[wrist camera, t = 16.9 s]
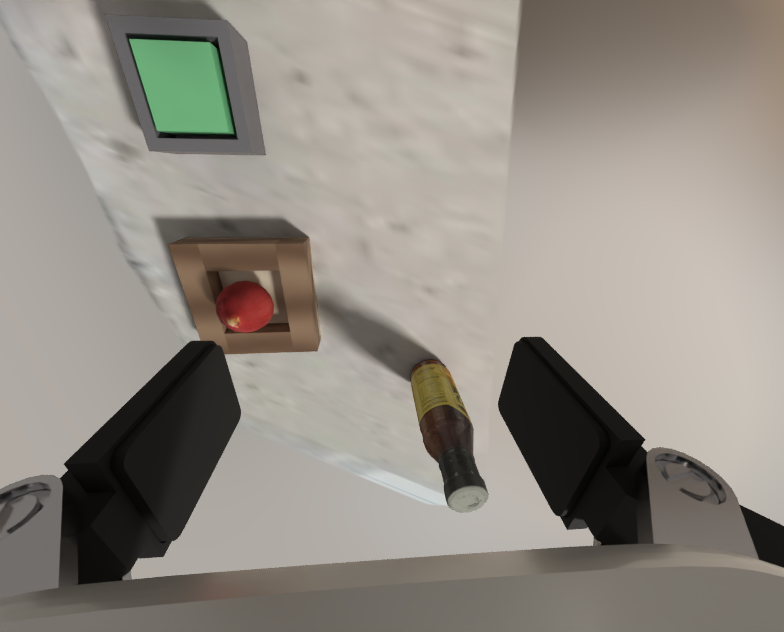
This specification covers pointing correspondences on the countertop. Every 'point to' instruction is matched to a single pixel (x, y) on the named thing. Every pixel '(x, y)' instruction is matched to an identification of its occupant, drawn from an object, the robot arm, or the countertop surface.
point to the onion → (244, 306)
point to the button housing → (235, 73)
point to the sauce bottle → (448, 435)
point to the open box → (259, 265)
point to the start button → (185, 87)
